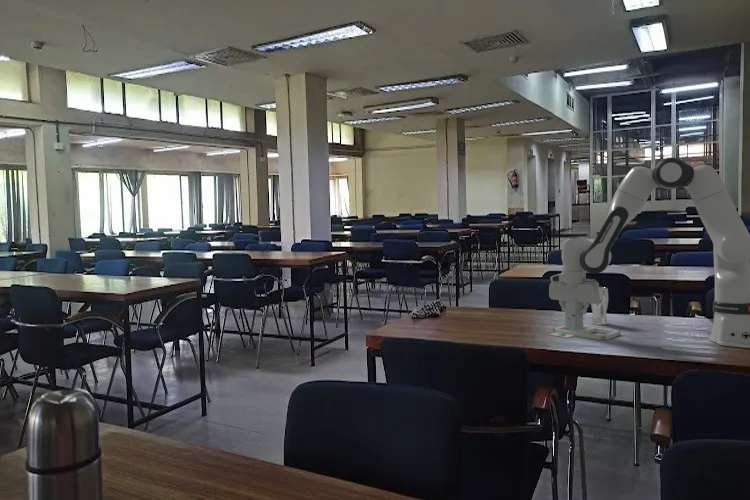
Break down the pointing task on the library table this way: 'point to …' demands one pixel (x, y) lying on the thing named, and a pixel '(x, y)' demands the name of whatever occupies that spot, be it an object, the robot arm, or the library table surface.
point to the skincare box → (573, 314)
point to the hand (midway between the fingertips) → (574, 312)
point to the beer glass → (600, 308)
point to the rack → (585, 332)
